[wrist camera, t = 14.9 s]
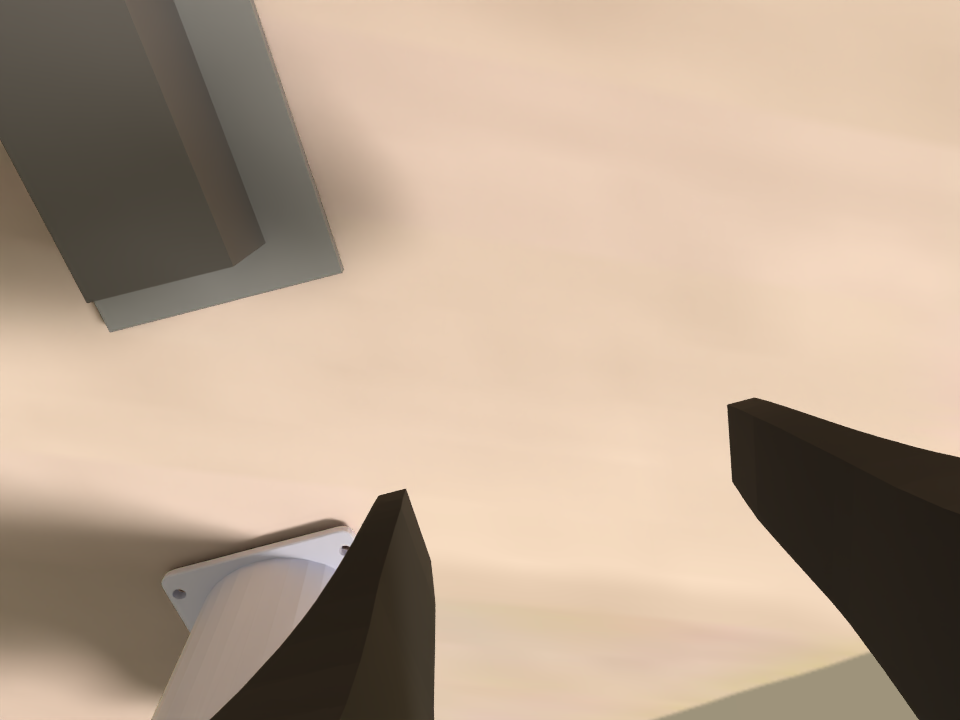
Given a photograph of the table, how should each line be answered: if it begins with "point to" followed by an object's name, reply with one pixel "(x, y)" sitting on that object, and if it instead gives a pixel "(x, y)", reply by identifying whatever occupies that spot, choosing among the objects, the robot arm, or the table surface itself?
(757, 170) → the table surface
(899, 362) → the table surface
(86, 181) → the bar
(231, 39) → the mat
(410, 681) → the robot arm
